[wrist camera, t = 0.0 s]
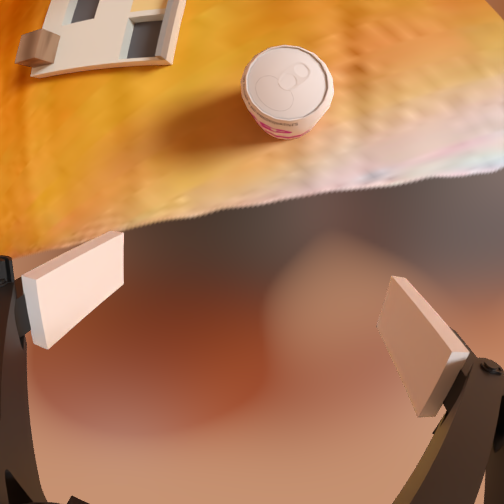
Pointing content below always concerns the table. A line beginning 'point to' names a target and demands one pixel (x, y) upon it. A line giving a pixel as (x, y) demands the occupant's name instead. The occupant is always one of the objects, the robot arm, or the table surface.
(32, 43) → the block
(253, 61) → the soda can
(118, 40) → the box
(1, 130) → the table surface
